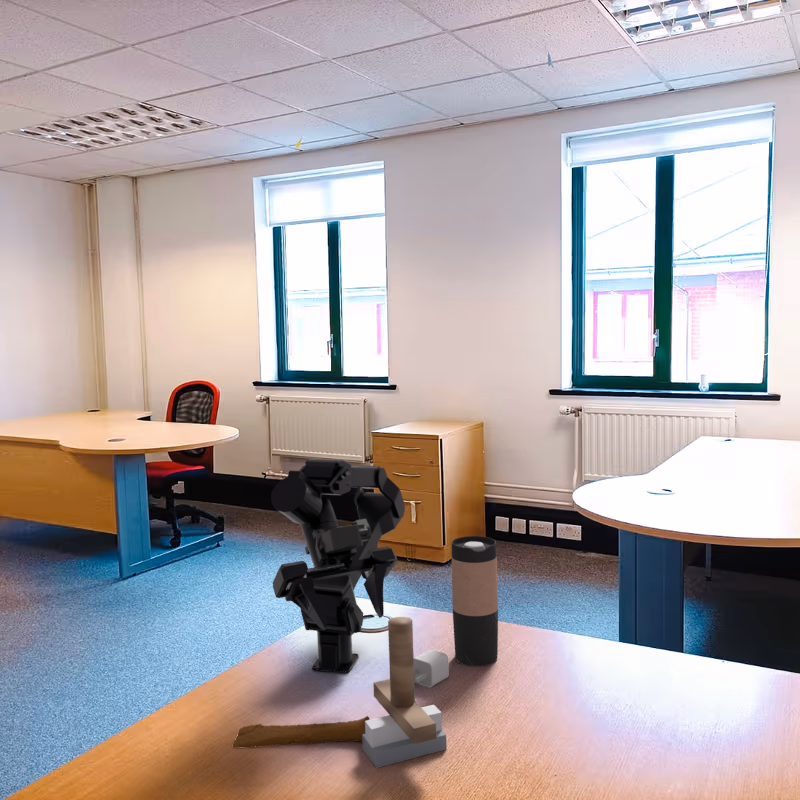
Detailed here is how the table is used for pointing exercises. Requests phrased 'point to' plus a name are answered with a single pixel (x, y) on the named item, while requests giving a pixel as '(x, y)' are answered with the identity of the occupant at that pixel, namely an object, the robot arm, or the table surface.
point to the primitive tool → (300, 733)
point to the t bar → (403, 685)
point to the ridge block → (399, 740)
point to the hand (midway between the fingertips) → (353, 622)
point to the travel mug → (475, 600)
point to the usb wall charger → (431, 668)
